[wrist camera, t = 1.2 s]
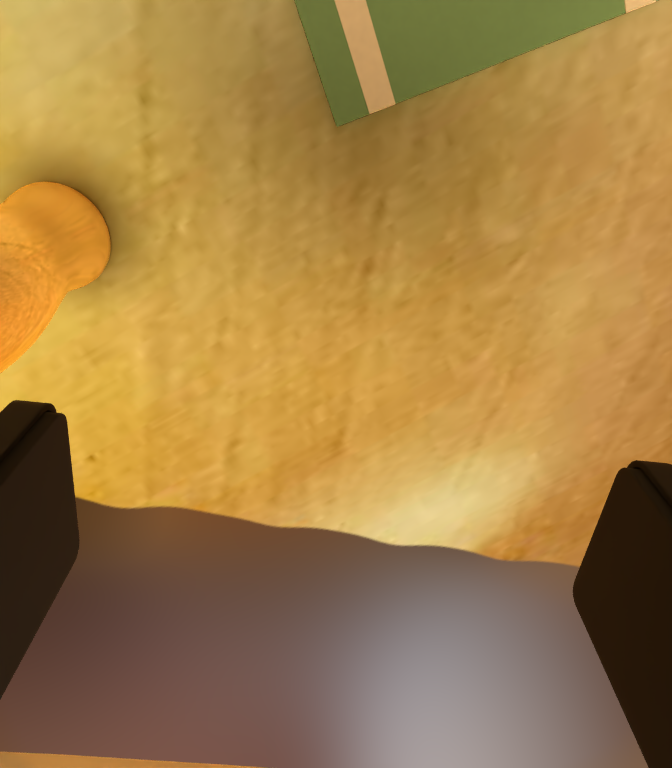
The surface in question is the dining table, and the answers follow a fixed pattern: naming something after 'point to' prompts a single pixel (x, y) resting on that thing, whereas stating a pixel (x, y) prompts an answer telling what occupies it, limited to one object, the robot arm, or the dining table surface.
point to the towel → (430, 42)
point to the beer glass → (44, 259)
